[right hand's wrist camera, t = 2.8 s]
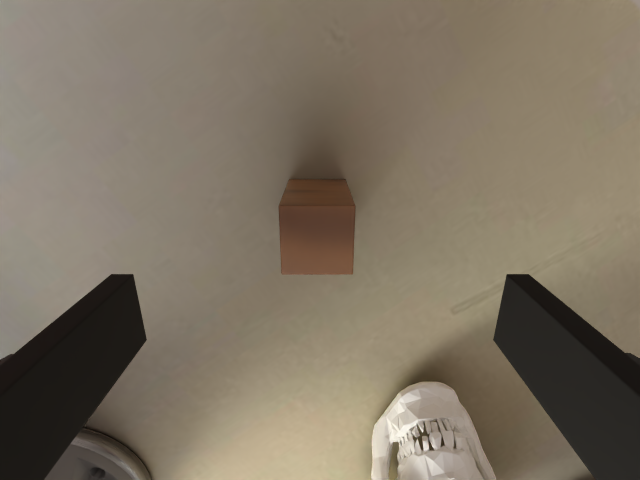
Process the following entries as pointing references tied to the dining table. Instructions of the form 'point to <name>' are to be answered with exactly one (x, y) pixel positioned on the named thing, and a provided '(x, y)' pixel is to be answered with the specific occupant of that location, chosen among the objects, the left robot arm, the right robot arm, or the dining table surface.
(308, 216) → the block
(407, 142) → the dining table surface
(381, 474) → the skull
